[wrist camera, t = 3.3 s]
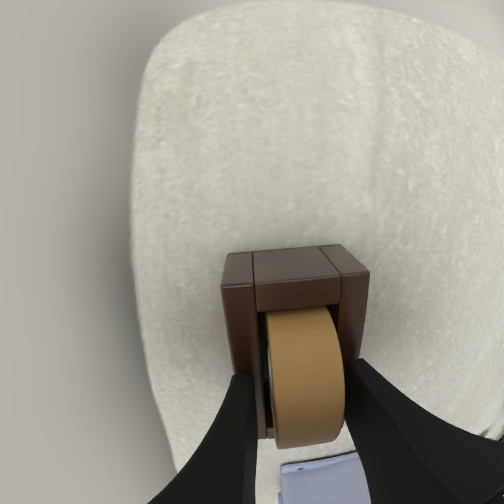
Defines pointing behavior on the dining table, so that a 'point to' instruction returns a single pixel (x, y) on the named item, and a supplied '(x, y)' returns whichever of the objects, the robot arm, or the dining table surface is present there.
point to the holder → (290, 304)
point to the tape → (304, 376)
